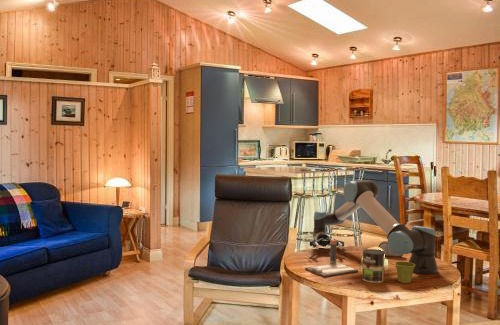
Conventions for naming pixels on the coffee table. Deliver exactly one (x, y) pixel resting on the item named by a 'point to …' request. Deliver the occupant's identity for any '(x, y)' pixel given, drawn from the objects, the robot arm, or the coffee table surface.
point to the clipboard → (331, 270)
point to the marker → (333, 251)
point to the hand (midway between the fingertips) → (329, 247)
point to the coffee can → (373, 265)
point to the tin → (388, 249)
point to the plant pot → (404, 271)
